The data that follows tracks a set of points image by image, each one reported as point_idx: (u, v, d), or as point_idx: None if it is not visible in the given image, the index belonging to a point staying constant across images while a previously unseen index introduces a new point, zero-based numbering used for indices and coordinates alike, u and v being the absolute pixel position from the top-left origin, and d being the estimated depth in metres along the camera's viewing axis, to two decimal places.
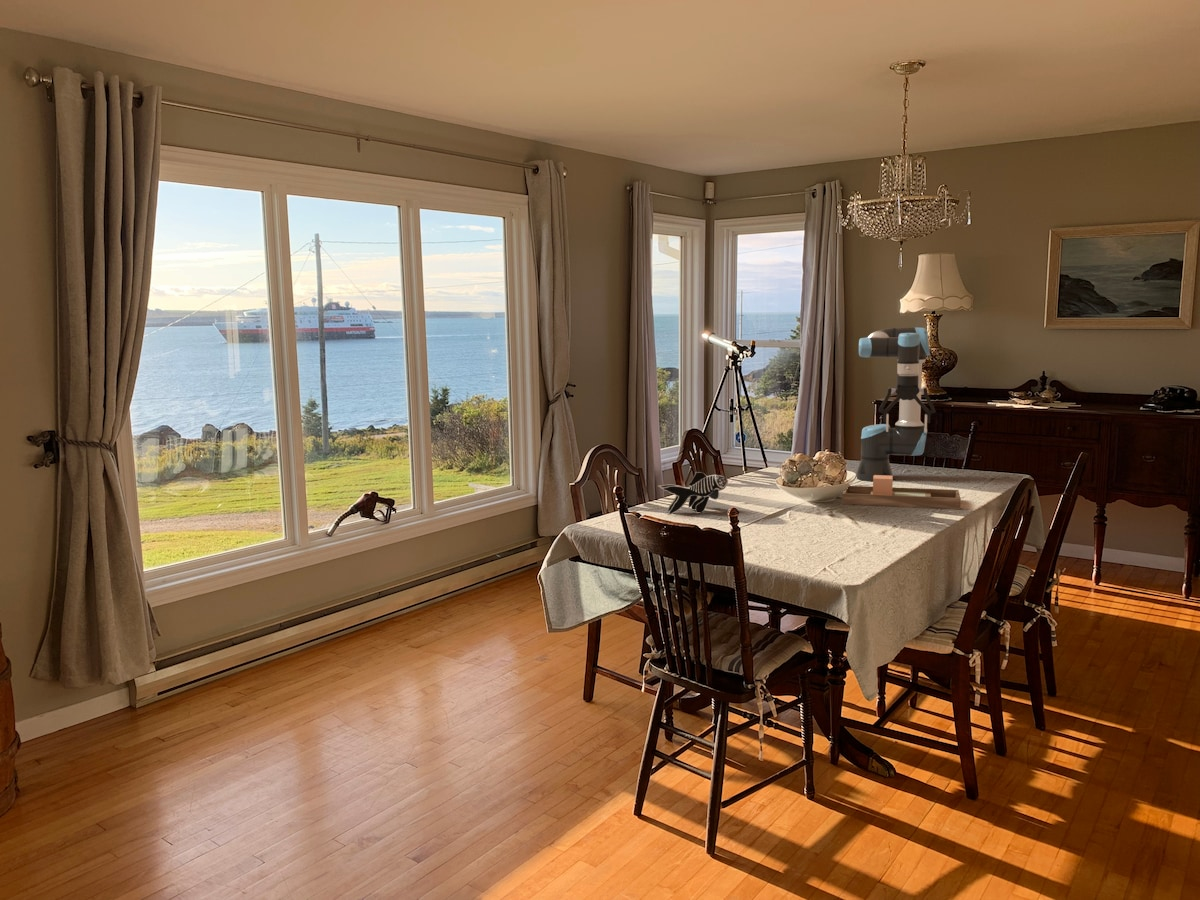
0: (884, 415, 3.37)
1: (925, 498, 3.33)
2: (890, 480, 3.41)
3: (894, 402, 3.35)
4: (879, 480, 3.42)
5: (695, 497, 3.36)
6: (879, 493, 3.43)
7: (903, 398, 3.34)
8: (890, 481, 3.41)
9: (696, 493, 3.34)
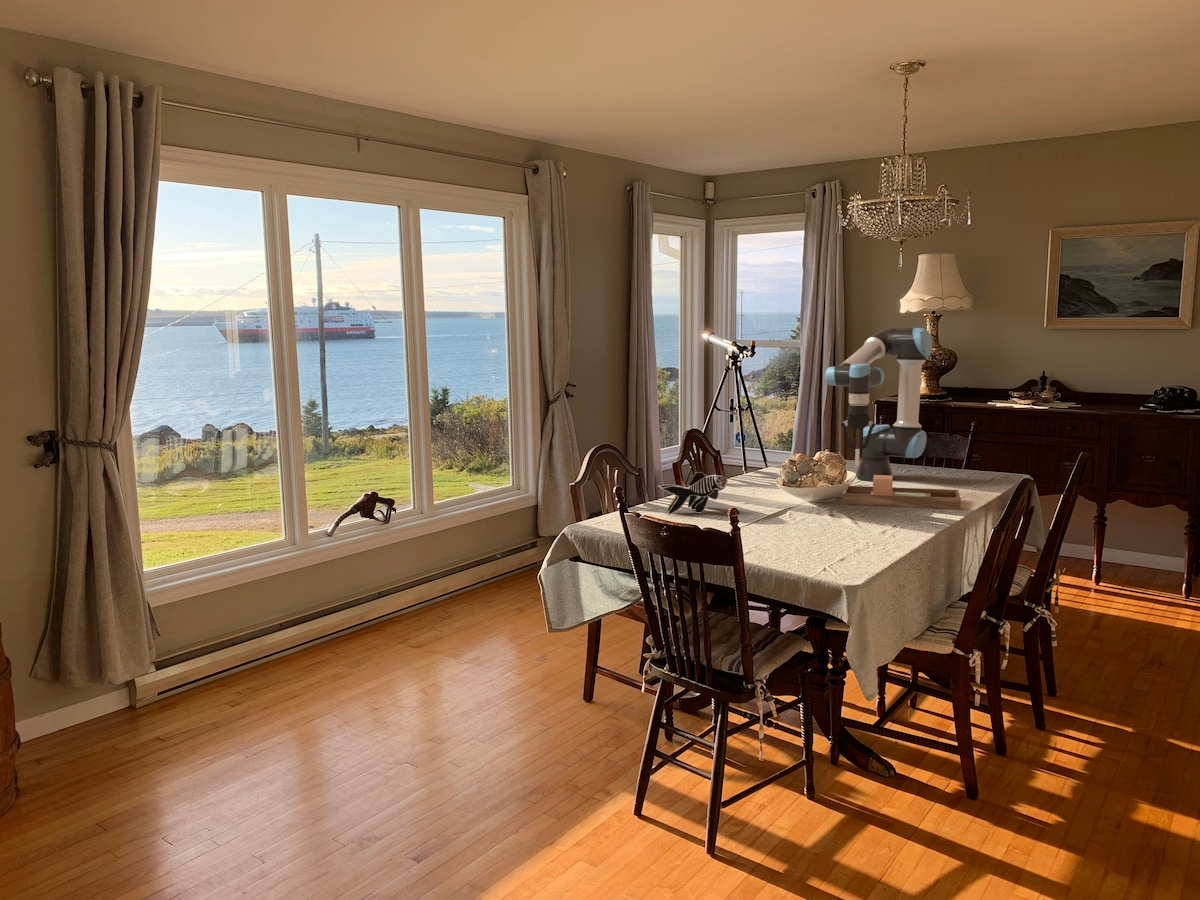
0: (853, 450, 3.46)
1: (925, 498, 3.33)
2: (890, 480, 3.41)
3: (854, 434, 3.44)
4: (879, 480, 3.42)
5: (695, 497, 3.36)
6: (879, 493, 3.43)
7: None
8: (890, 481, 3.41)
9: (695, 493, 3.34)
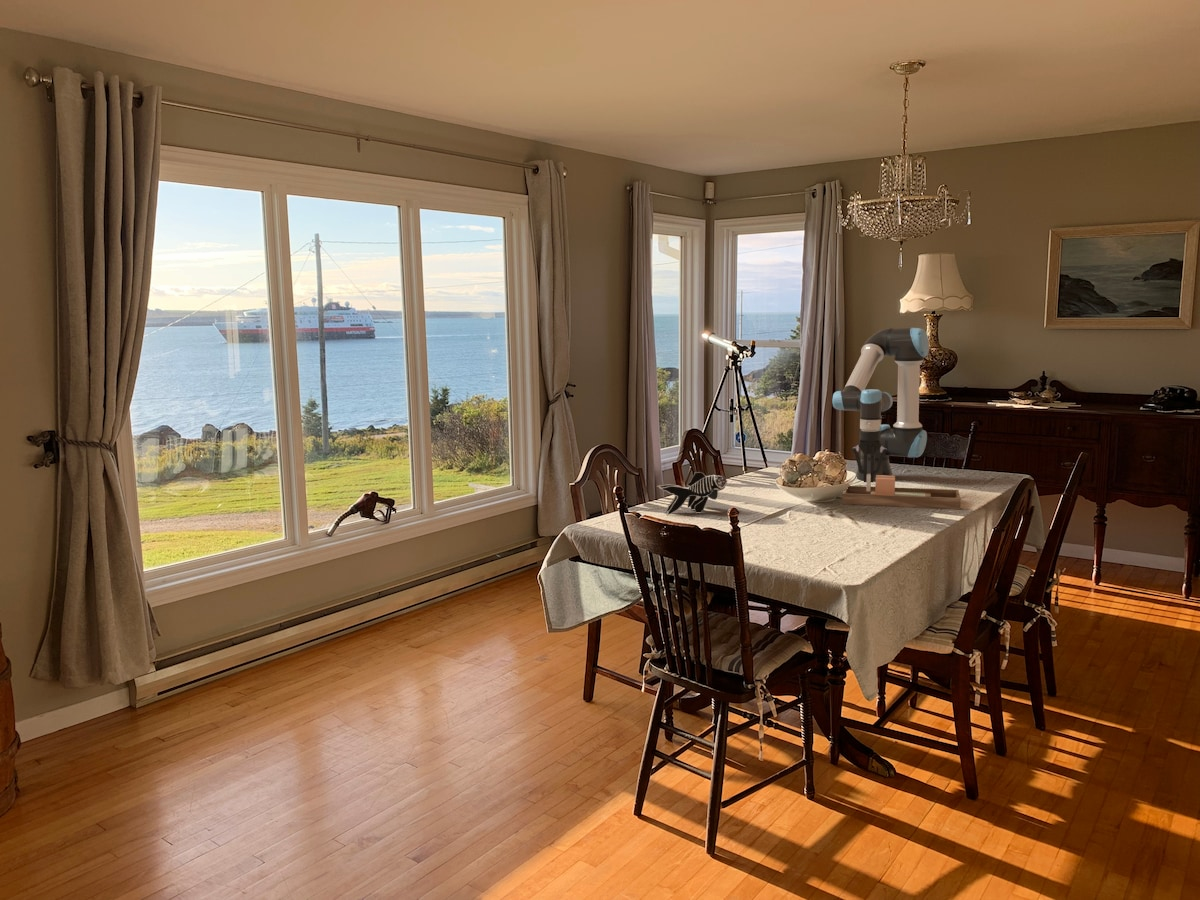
0: (864, 475, 3.46)
1: (925, 498, 3.33)
2: (892, 480, 3.40)
3: (865, 459, 3.45)
4: (881, 480, 3.42)
5: (694, 497, 3.36)
6: (881, 493, 3.42)
7: None
8: (892, 481, 3.40)
9: (695, 493, 3.34)
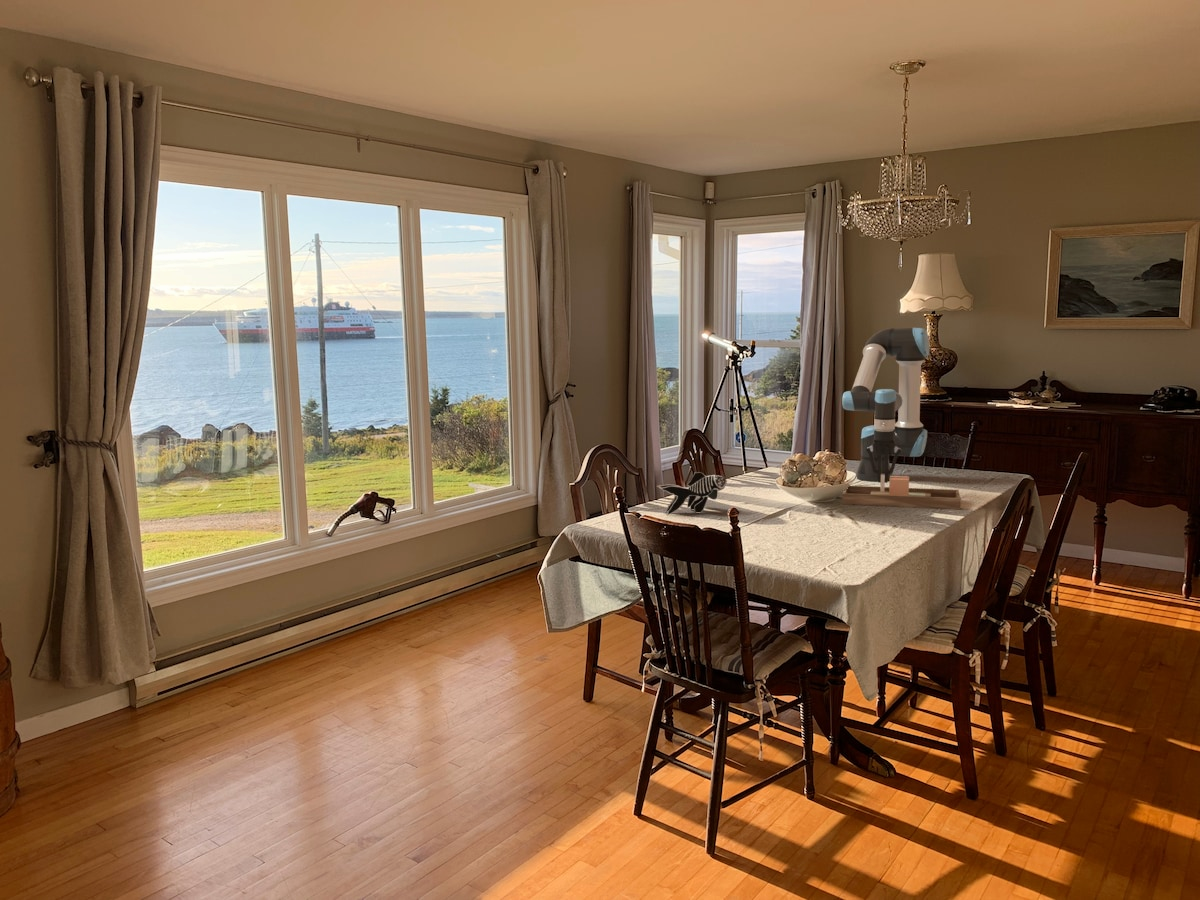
0: (878, 475, 3.44)
1: (925, 498, 3.33)
2: (907, 481, 3.39)
3: (879, 459, 3.43)
4: (895, 481, 3.40)
5: (694, 497, 3.36)
6: (895, 494, 3.41)
7: None
8: (907, 482, 3.39)
9: (695, 493, 3.34)
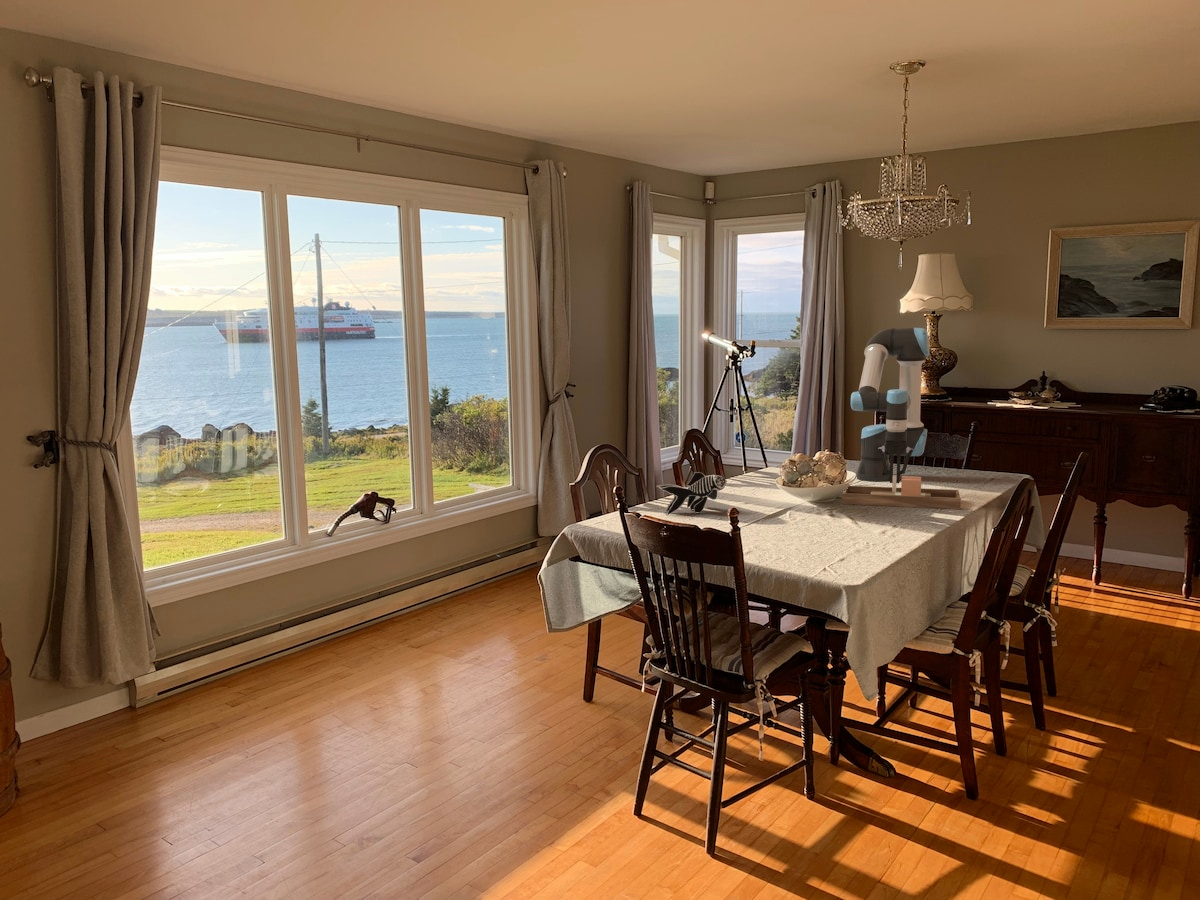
0: (890, 476, 3.43)
1: (925, 498, 3.33)
2: (919, 481, 3.37)
3: (891, 460, 3.42)
4: (907, 481, 3.39)
5: (694, 497, 3.36)
6: (907, 494, 3.39)
7: None
8: (919, 482, 3.37)
9: (694, 493, 3.34)
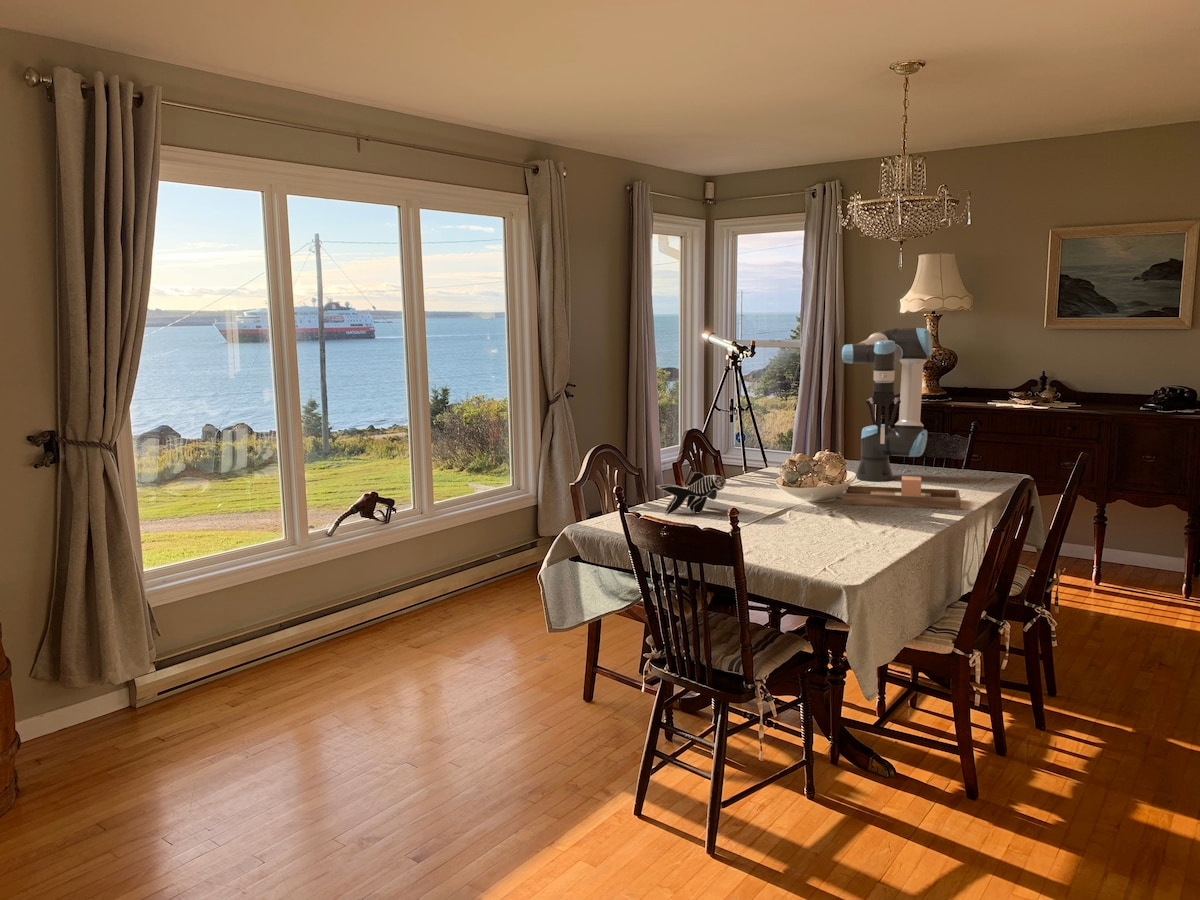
0: (878, 427, 3.42)
1: (925, 498, 3.33)
2: (919, 481, 3.37)
3: (879, 411, 3.41)
4: (908, 481, 3.39)
5: (693, 497, 3.36)
6: (907, 494, 3.39)
7: None
8: (919, 482, 3.37)
9: (694, 493, 3.34)
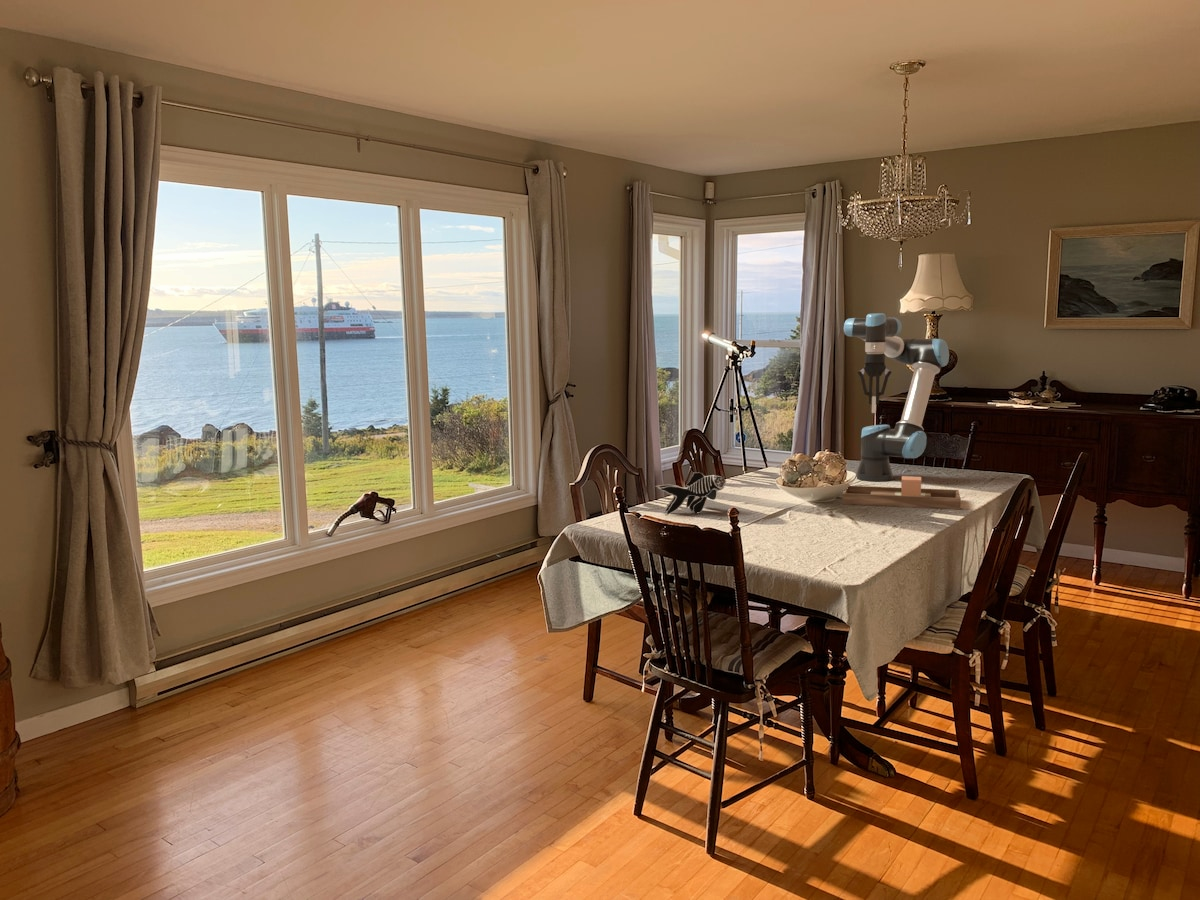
0: (870, 397, 3.56)
1: (925, 498, 3.33)
2: (919, 481, 3.37)
3: (870, 382, 3.55)
4: (908, 481, 3.39)
5: (693, 497, 3.35)
6: (907, 494, 3.39)
7: None
8: (919, 482, 3.37)
9: (694, 493, 3.34)
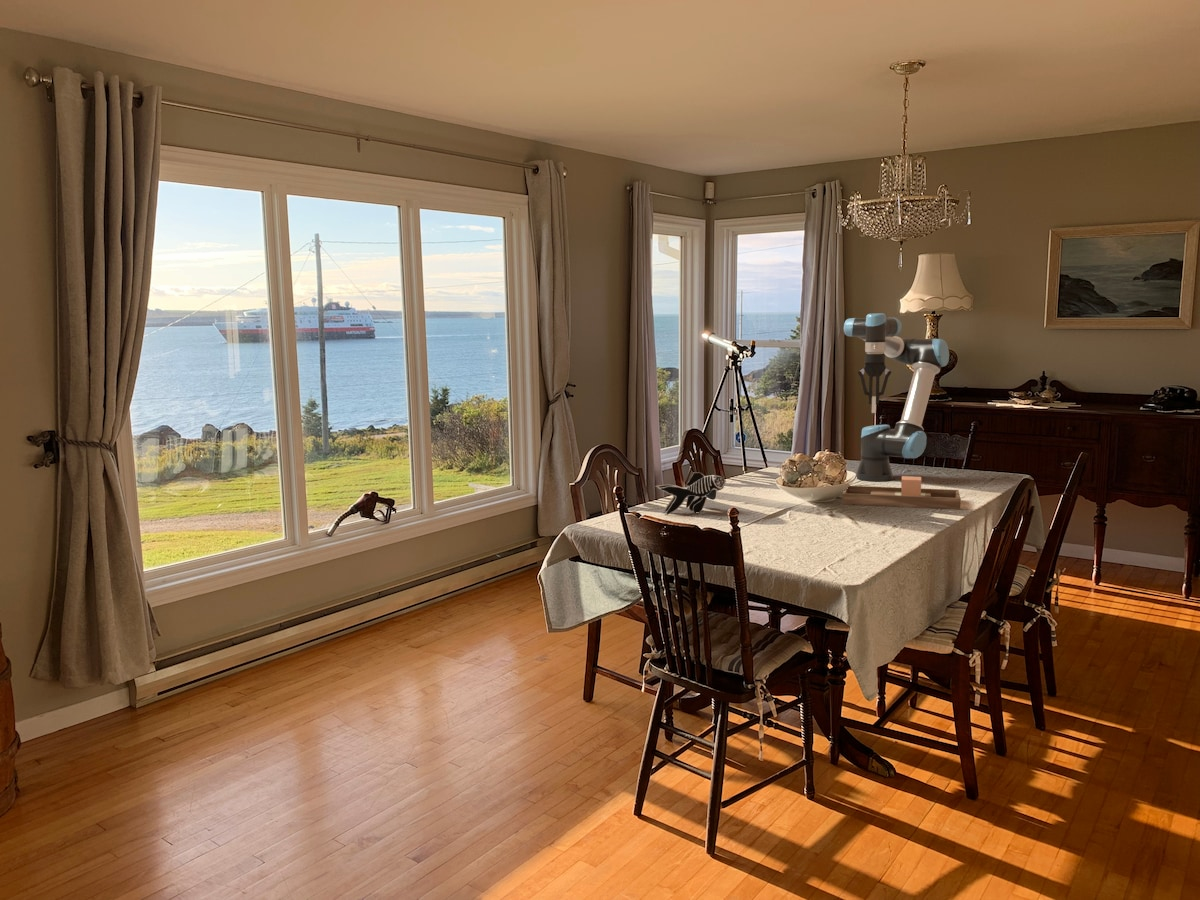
0: (870, 397, 3.56)
1: (925, 498, 3.33)
2: (919, 481, 3.37)
3: (870, 382, 3.55)
4: (908, 481, 3.39)
5: (693, 497, 3.35)
6: (907, 494, 3.39)
7: None
8: (919, 482, 3.37)
9: (694, 493, 3.34)
